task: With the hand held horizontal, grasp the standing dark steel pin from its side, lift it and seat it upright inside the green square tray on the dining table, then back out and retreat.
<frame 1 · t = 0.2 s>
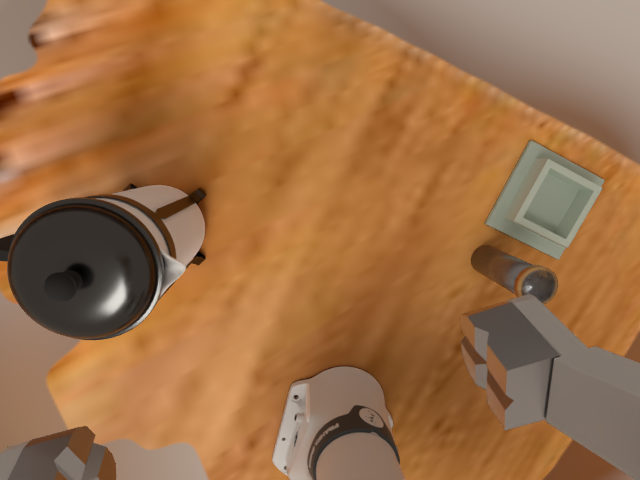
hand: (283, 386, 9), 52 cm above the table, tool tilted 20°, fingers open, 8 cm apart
pin: (484, 259, 65), on the table
green square tray: (543, 201, 64), on the table
coffee press: (158, 226, 59), on the table
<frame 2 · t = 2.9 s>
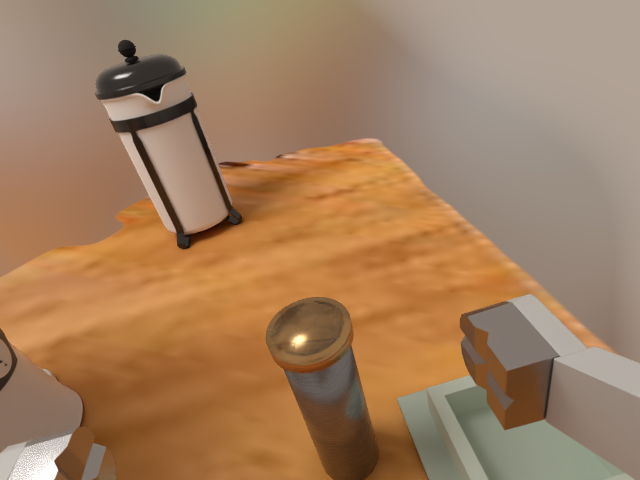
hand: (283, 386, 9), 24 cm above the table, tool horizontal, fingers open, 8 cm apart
pin: (349, 453, 32), on the table
green square tray: (525, 457, 29), on the table
coffee press: (200, 224, 72), on the table
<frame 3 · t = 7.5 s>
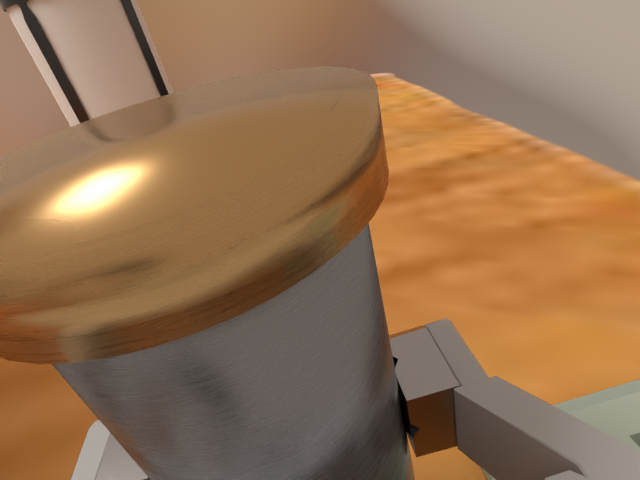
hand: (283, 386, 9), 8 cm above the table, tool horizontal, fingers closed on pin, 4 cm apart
coffee press: (148, 169, 53), on the table
when the fingers open (10 cm above the table, at t = 12.3 s): pin stays where it is, resting on green square tray.
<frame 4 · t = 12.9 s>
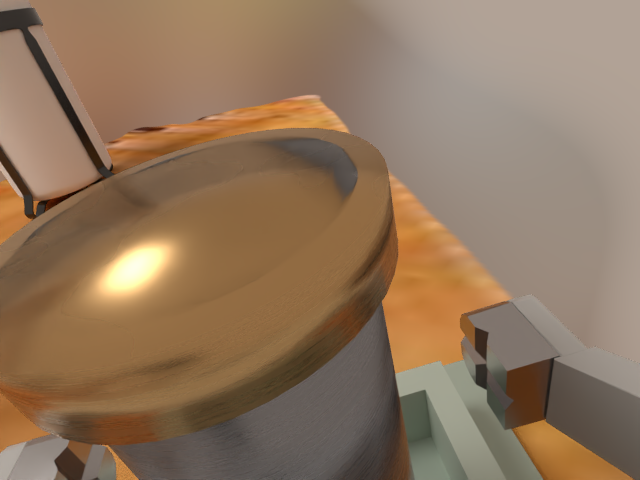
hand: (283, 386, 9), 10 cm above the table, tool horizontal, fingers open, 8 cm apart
coffee press: (74, 191, 56), on the table
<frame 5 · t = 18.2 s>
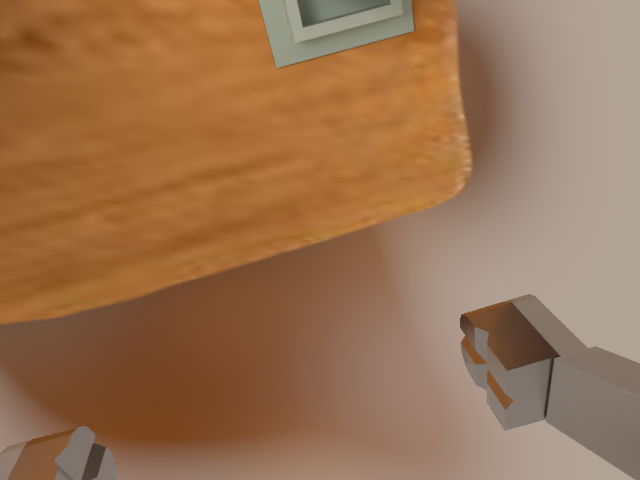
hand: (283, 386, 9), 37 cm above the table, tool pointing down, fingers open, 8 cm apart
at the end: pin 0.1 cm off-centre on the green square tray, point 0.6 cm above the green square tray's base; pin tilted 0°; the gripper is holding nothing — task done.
